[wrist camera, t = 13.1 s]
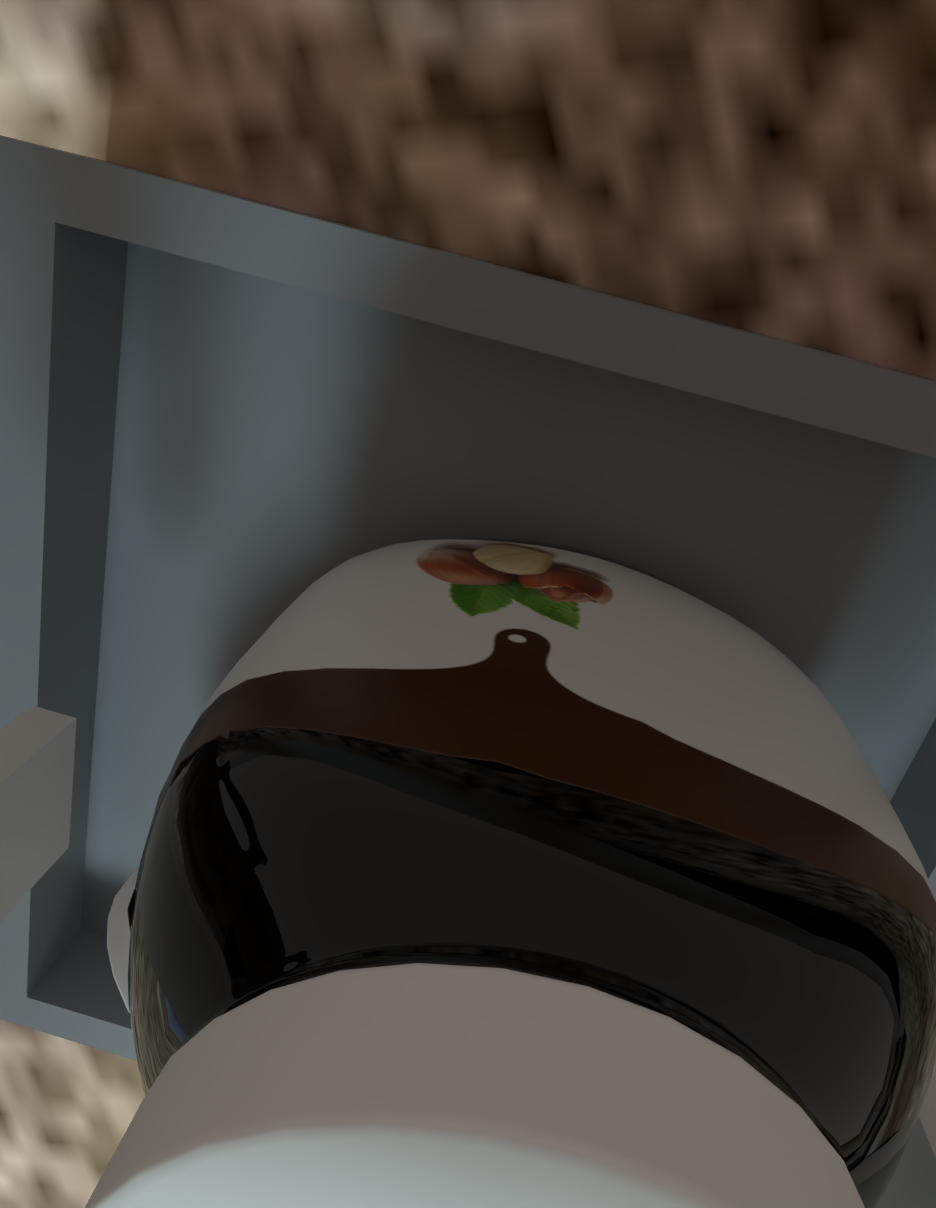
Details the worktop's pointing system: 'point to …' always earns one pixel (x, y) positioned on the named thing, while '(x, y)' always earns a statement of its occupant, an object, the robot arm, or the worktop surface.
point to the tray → (390, 488)
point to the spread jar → (520, 910)
